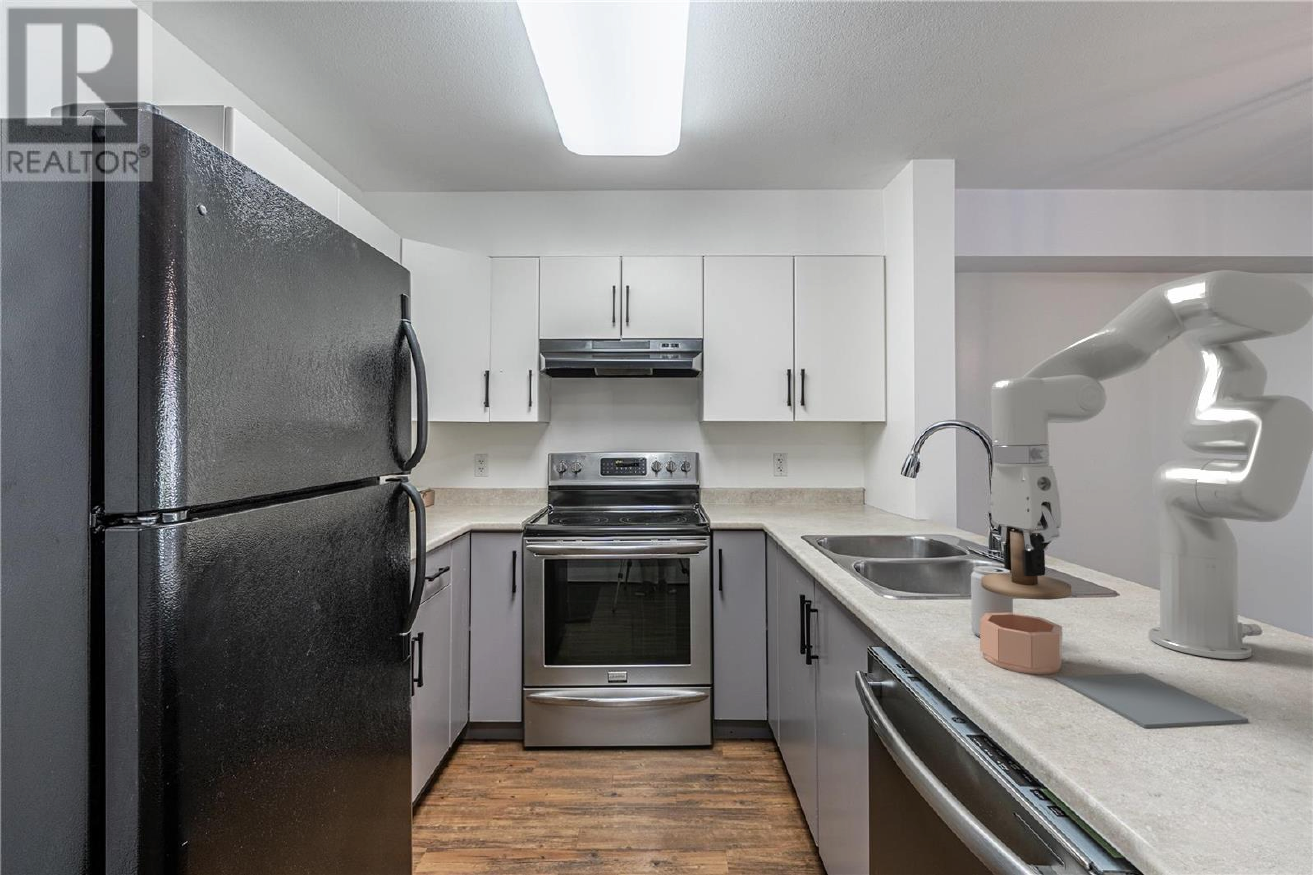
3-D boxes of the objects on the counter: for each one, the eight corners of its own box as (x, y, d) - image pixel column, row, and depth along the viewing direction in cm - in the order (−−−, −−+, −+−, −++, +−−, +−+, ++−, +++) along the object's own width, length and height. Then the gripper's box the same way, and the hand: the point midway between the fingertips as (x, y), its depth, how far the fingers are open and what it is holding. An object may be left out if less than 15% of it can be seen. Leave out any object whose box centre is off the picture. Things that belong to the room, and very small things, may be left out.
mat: (1143, 675, 85) (1143, 673, 85) (1248, 722, 71) (1248, 719, 71) (1054, 679, 84) (1054, 676, 84) (1144, 727, 70) (1144, 724, 70)
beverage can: (1019, 644, 98) (1019, 573, 98) (978, 641, 99) (978, 572, 99) (1004, 631, 104) (1004, 565, 104) (966, 629, 106) (966, 564, 106)
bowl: (1027, 647, 96) (1027, 611, 96) (1078, 673, 86) (1078, 633, 86) (968, 649, 96) (968, 613, 96) (1012, 676, 85) (1012, 635, 85)
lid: (1032, 577, 97) (1030, 524, 97) (1091, 596, 85) (1089, 536, 85) (965, 581, 96) (963, 527, 96) (1016, 601, 84) (1014, 540, 84)
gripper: (1086, 457, 83) (1090, 584, 83) (1006, 454, 99) (1010, 559, 99) (1037, 459, 82) (1041, 587, 82) (965, 455, 99) (969, 562, 99)
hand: (1024, 571), depth 91 cm, fingers closed on lid, 3 cm apart
